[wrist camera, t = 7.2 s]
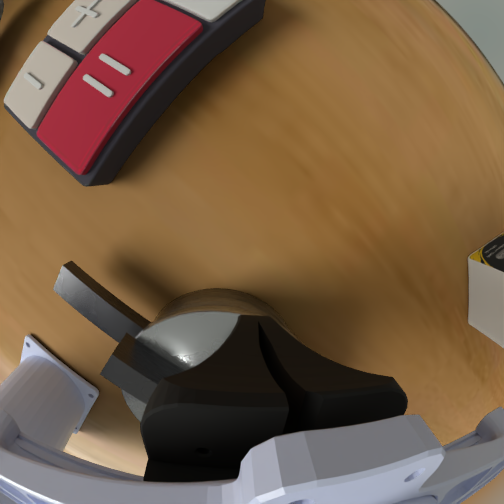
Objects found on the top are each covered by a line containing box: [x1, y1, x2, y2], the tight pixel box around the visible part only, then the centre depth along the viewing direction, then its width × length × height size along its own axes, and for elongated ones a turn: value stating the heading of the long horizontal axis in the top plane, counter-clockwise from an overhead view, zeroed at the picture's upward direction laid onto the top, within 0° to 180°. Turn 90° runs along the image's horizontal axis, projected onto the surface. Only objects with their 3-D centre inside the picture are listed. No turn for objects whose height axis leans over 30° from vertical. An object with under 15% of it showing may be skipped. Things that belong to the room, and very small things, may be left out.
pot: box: [53, 261, 289, 343], centre depth 15 cm, size 10×18×4 cm, turn 52°
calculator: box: [4, 0, 265, 186], centre depth 11 cm, size 11×4×15 cm
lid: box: [100, 306, 303, 422], centre depth 13 cm, size 13×11×3 cm
